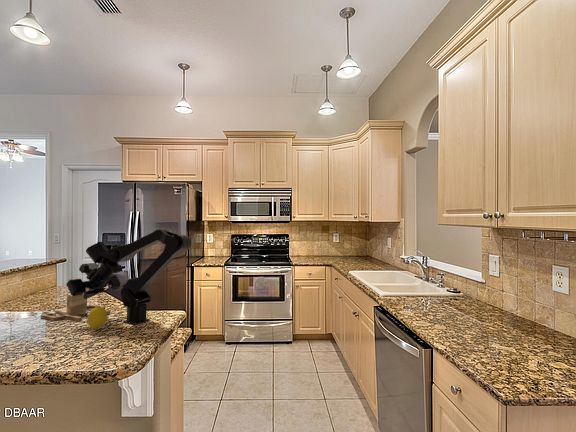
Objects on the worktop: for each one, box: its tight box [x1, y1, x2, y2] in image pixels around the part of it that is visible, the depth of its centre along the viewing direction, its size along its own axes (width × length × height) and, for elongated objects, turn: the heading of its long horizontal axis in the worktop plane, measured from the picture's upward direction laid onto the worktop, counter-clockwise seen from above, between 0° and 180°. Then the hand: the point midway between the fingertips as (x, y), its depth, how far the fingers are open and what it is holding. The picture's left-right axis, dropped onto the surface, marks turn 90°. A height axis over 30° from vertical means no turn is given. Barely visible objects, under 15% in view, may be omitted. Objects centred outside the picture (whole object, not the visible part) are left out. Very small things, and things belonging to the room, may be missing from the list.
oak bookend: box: [53, 293, 88, 316], centre depth 124 cm, size 11×6×8 cm, turn 66°
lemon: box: [87, 305, 108, 331], centre depth 102 cm, size 6×6×8 cm
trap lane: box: [40, 304, 111, 322], centre depth 122 cm, size 23×20×1 cm
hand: (84, 298), depth 121 cm, fingers closed
